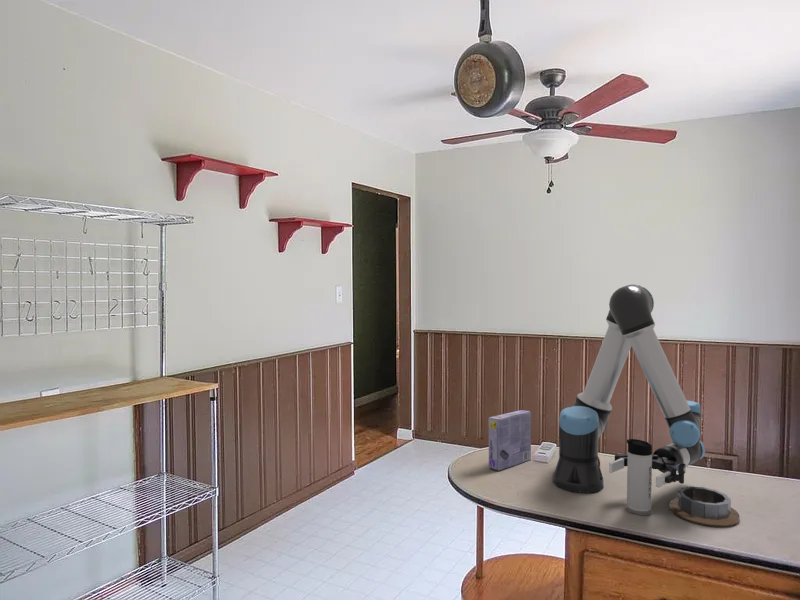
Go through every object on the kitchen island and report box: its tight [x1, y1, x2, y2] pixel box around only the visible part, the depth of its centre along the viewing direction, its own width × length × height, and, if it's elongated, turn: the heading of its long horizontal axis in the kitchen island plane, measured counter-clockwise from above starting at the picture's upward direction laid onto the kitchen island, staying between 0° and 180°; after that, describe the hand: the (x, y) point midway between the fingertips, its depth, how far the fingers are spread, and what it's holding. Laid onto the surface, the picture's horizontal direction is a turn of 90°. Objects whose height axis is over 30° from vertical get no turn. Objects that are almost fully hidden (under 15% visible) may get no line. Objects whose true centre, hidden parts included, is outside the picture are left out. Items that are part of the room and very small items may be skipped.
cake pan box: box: [488, 409, 532, 472], centre depth 193 cm, size 19×5×18 cm, turn 130°
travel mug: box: [626, 438, 653, 516], centre depth 155 cm, size 6×7×20 cm
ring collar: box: [668, 485, 740, 528], centre depth 154 cm, size 17×17×5 cm
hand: (632, 474), depth 153 cm, fingers open, 13 cm apart
